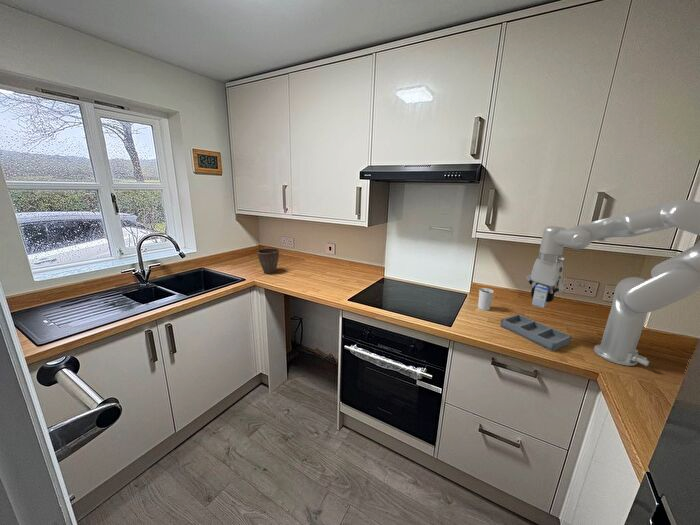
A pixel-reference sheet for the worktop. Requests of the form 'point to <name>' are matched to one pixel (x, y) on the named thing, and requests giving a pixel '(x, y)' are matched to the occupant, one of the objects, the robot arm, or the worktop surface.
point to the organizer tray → (536, 332)
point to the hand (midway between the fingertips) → (541, 298)
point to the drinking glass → (485, 298)
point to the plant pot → (268, 259)
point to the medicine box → (540, 295)
